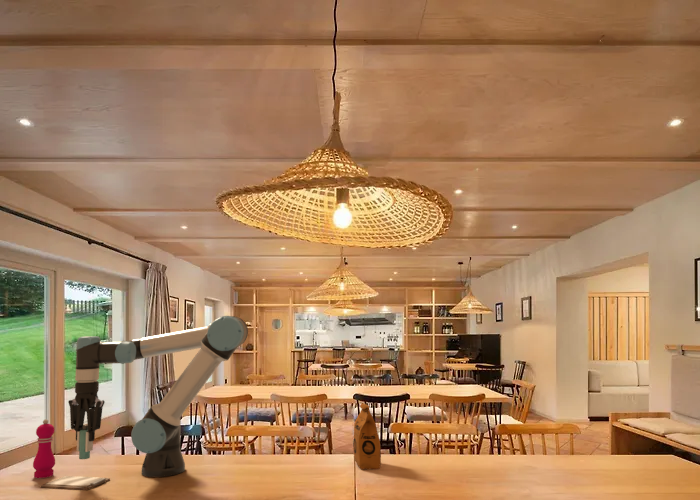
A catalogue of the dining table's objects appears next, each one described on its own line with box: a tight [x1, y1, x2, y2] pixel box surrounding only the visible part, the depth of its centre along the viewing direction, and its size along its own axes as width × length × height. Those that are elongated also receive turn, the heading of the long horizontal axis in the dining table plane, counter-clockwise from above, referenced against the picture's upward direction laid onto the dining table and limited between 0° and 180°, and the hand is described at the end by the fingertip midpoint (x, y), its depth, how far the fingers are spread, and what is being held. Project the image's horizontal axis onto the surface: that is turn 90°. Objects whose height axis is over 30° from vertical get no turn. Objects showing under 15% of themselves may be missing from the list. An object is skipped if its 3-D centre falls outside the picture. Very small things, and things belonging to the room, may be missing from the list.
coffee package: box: [352, 402, 382, 470], centre depth 220 cm, size 10×12×22 cm
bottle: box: [78, 424, 91, 460], centre depth 204 cm, size 3×3×11 cm
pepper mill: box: [32, 419, 56, 479], centre depth 216 cm, size 7×7×20 cm
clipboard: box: [40, 475, 111, 491], centre depth 203 cm, size 18×12×1 cm, turn 77°
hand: (84, 450), depth 204 cm, fingers closed on bottle, 3 cm apart
